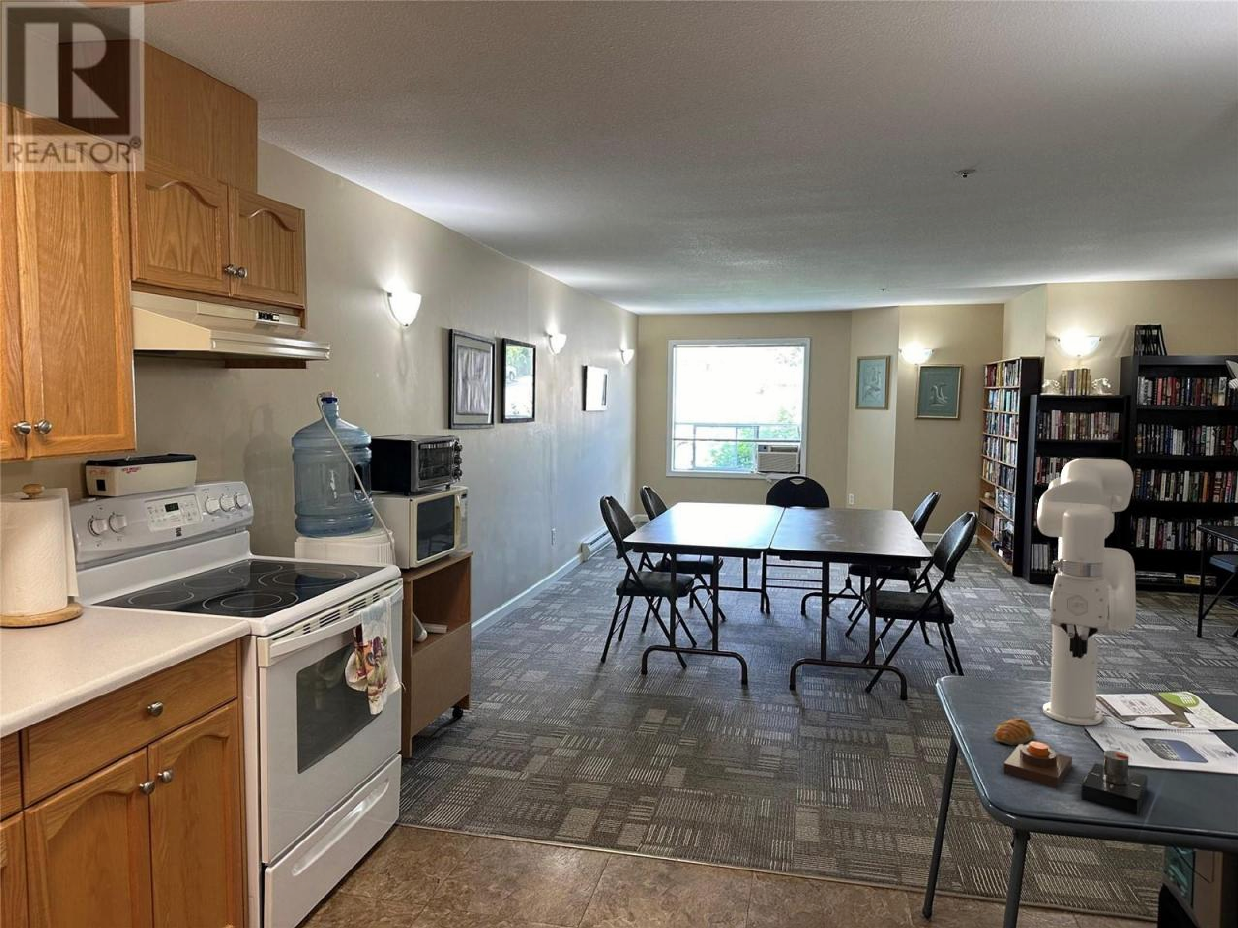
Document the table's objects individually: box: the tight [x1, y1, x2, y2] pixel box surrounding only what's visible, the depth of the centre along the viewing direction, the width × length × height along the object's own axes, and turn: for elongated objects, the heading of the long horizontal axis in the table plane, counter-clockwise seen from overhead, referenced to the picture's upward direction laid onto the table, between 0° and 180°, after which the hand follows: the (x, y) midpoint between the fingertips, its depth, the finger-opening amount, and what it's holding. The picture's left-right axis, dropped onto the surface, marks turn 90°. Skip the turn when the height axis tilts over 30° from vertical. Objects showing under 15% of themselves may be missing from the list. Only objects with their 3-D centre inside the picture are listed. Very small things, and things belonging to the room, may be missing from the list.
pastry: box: [994, 718, 1036, 746], centre depth 182 cm, size 9×7×4 cm
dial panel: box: [1081, 762, 1149, 816], centre depth 157 cm, size 12×9×3 cm
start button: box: [1028, 741, 1050, 756], centre depth 167 cm, size 4×4×2 cm
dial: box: [1103, 750, 1130, 785], centre depth 157 cm, size 4×4×5 cm
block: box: [1003, 743, 1073, 789], centre depth 168 cm, size 12×10×4 cm
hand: (1078, 656), depth 169 cm, fingers closed
